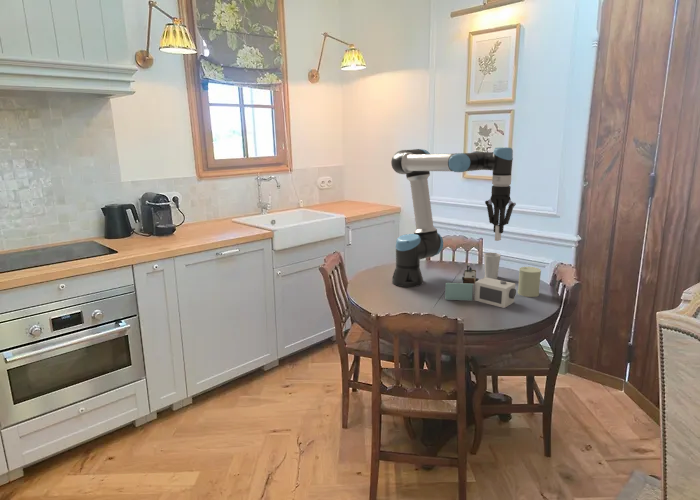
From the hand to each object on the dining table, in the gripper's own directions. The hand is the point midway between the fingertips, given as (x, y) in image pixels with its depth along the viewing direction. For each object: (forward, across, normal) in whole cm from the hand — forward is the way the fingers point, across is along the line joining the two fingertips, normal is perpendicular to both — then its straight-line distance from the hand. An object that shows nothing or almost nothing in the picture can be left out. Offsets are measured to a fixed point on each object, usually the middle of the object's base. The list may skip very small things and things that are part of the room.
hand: (497, 240), depth 197 cm
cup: (+27, -15, +26) cm, 40 cm away
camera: (+27, -15, +6) cm, 32 cm away
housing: (+26, +2, -4) cm, 27 cm away
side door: (+26, -10, -12) cm, 31 cm away
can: (+27, +9, +15) cm, 32 cm away
